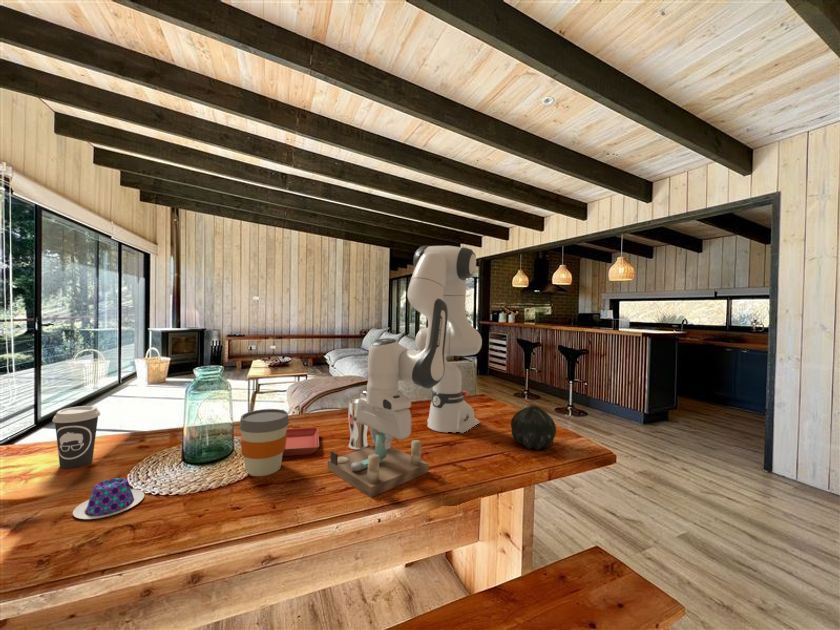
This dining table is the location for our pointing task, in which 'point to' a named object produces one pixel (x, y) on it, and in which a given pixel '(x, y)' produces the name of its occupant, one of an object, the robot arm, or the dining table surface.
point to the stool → (379, 468)
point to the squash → (533, 428)
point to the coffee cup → (76, 435)
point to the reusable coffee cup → (263, 440)
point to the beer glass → (356, 428)
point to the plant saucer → (301, 441)
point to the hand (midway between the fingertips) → (381, 445)
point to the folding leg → (378, 450)
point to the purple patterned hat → (109, 499)
